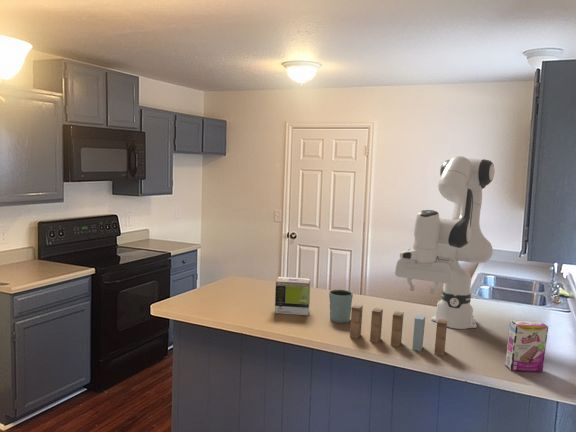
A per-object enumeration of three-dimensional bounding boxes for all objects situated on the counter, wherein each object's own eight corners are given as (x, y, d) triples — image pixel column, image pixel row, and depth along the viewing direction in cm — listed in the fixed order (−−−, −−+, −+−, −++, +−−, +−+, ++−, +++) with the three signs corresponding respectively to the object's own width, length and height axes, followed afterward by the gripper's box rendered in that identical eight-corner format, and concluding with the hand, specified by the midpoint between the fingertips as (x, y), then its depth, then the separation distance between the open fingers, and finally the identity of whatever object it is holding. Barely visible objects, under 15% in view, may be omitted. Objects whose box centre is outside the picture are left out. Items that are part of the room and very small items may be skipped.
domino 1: (353, 333, 196) (355, 304, 194) (360, 334, 194) (362, 305, 193) (349, 337, 191) (351, 307, 190) (357, 338, 190) (359, 308, 188)
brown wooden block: (436, 349, 183) (438, 318, 181) (444, 351, 181) (447, 319, 180) (434, 354, 178) (437, 322, 177) (442, 355, 177) (445, 323, 175)
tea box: (309, 309, 224) (311, 277, 223) (308, 316, 214) (309, 283, 213) (276, 307, 226) (278, 275, 224) (274, 313, 216) (275, 280, 214)
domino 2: (373, 337, 192) (375, 307, 191) (380, 338, 191) (382, 308, 190) (369, 341, 188) (372, 310, 186) (377, 342, 187) (379, 312, 185)
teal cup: (350, 324, 206) (351, 296, 205) (326, 321, 208) (327, 294, 207) (351, 317, 216) (353, 290, 215) (329, 314, 218) (330, 288, 217)
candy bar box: (511, 371, 166) (516, 324, 164) (504, 365, 171) (509, 320, 169) (543, 372, 166) (549, 326, 164) (535, 366, 171) (540, 321, 169)
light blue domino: (414, 345, 186) (417, 314, 184) (422, 346, 184) (425, 316, 183) (412, 349, 181) (414, 318, 180) (420, 351, 180) (423, 319, 179)
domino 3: (393, 341, 189) (395, 310, 188) (401, 342, 188) (403, 312, 186) (390, 345, 184) (392, 314, 183) (398, 346, 183) (400, 315, 182)
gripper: (455, 256, 178) (452, 293, 179) (399, 250, 186) (396, 285, 188) (453, 259, 172) (450, 298, 174) (395, 253, 180) (393, 289, 182)
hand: (422, 291), depth 181 cm, fingers open, 6 cm apart
